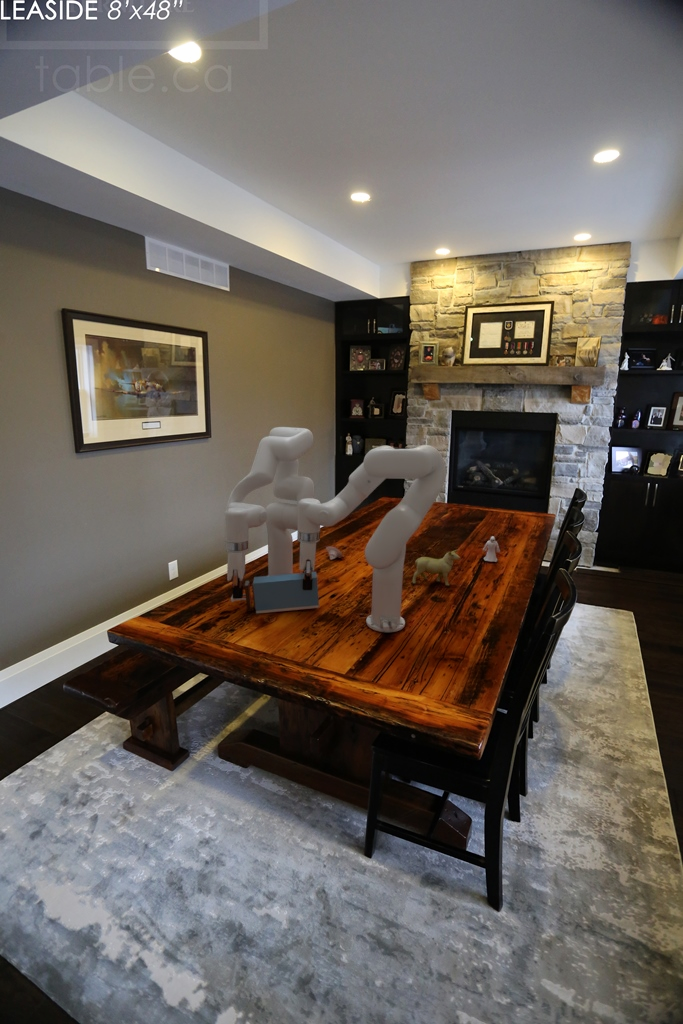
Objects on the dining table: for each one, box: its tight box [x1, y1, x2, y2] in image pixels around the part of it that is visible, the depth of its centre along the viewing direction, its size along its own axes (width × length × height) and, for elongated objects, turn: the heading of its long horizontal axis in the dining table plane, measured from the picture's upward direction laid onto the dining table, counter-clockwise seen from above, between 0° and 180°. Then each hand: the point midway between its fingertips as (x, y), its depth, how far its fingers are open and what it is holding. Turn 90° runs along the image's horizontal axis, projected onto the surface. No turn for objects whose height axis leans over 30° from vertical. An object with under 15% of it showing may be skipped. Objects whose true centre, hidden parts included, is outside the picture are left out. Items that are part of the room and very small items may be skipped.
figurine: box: [482, 535, 501, 563], centre depth 223 cm, size 8×8×12 cm
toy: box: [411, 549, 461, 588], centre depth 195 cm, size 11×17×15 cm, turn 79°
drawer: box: [230, 580, 256, 612], centre depth 170 cm, size 25×4×9 cm, turn 96°
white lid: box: [325, 545, 343, 561], centre depth 222 cm, size 8×5×8 cm
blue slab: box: [252, 571, 320, 614], centre depth 171 cm, size 21×6×11 cm, turn 96°
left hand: (237, 597), depth 169 cm, fingers closed
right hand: (307, 585), depth 171 cm, fingers closed on blue slab, 5 cm apart
